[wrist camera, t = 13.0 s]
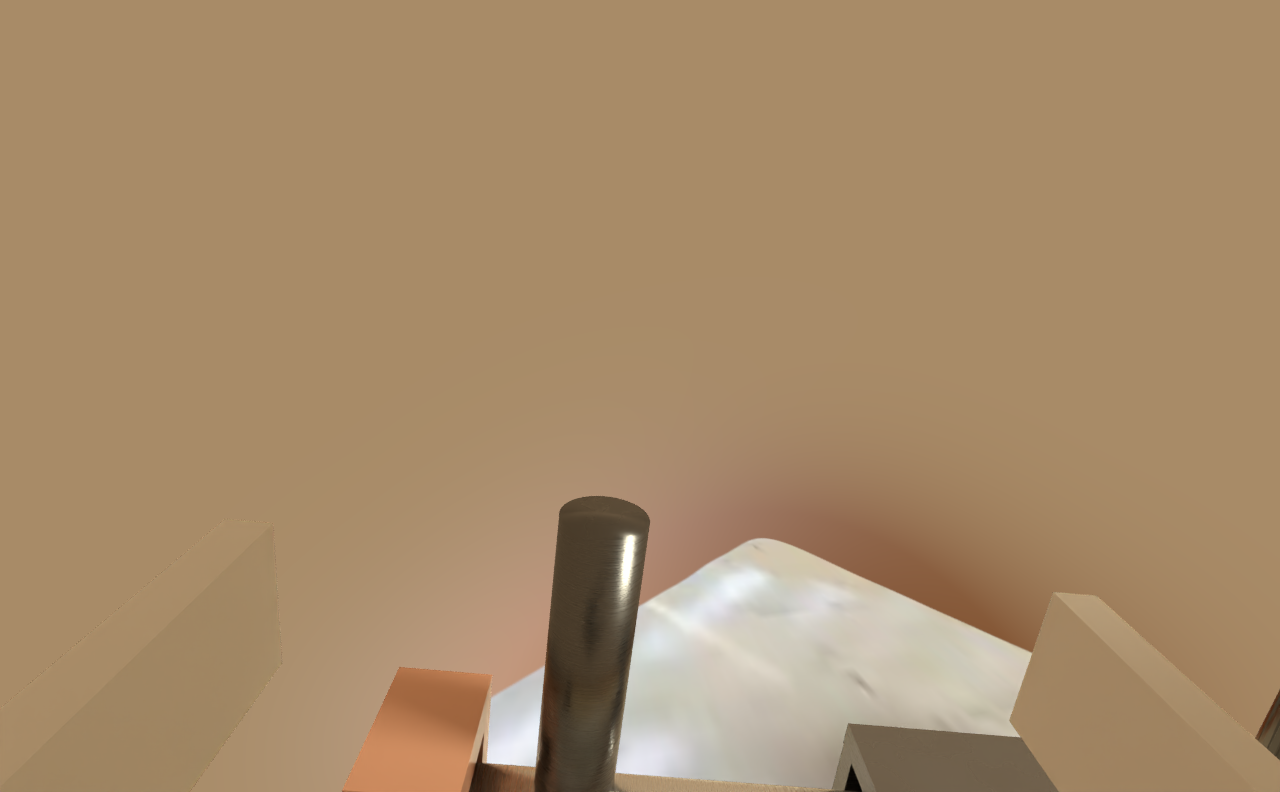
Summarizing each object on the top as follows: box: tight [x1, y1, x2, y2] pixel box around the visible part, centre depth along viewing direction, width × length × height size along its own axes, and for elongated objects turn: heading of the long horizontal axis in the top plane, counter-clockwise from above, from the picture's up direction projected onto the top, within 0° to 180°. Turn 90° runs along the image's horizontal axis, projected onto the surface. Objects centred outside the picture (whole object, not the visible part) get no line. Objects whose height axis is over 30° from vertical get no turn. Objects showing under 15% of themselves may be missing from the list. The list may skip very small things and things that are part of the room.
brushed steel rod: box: [469, 496, 858, 792], centre depth 30 cm, size 24×4×20 cm, turn 91°
